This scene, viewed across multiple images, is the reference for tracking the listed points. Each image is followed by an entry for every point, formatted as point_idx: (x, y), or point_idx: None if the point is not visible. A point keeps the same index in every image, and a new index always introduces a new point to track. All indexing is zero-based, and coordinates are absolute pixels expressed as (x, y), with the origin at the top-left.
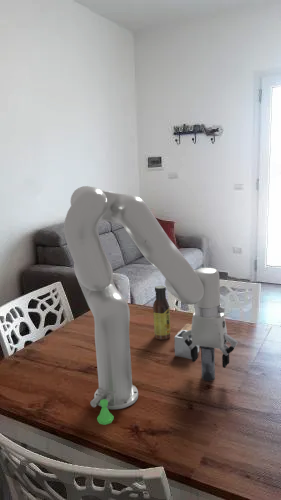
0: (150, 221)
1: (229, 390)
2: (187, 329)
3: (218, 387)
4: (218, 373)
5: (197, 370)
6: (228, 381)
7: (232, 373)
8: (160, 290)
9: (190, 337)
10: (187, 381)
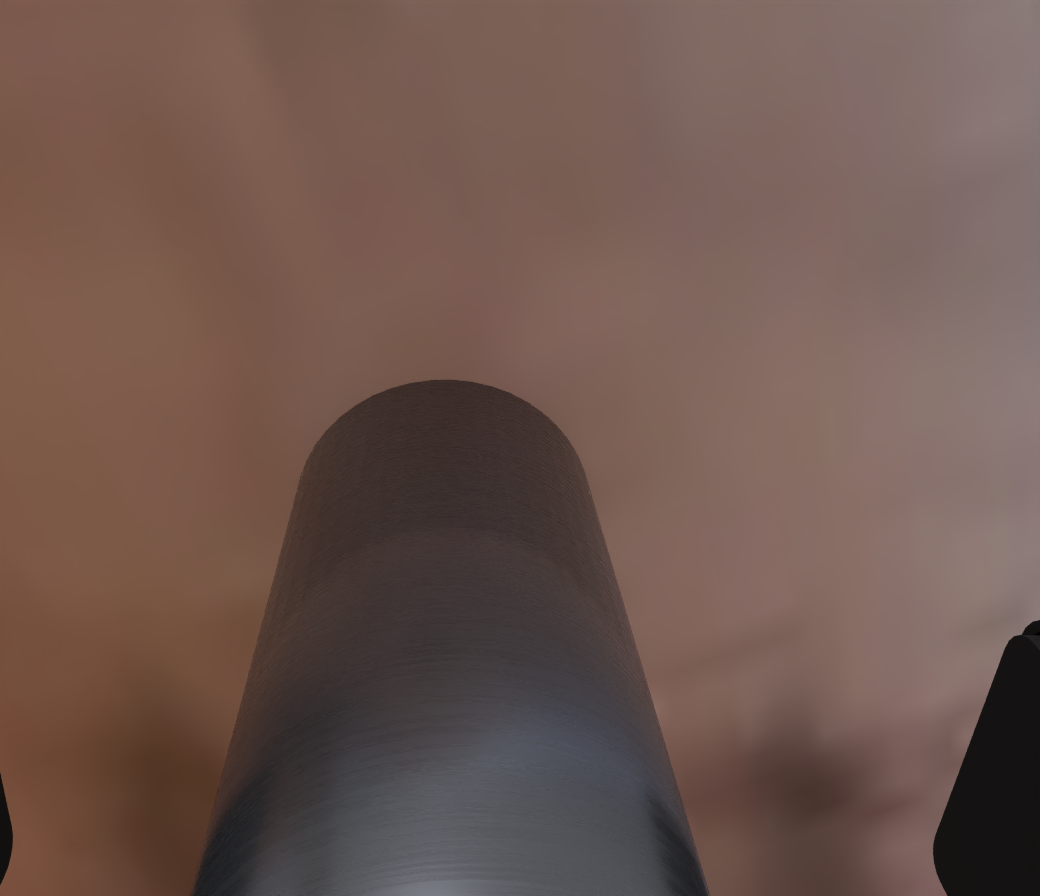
0: None
1: (920, 758)
2: None
3: (724, 747)
4: (622, 273)
5: (75, 316)
6: (885, 512)
7: (960, 148)
8: None
9: None
10: (111, 777)
